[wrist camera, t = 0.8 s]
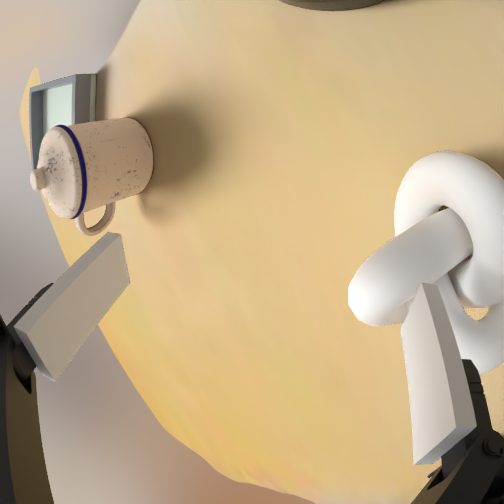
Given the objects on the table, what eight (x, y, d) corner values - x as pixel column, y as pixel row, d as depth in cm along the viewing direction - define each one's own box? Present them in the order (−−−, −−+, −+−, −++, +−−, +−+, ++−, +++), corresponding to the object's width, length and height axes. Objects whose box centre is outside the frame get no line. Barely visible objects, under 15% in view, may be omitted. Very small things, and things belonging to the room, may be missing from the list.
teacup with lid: (106, 114, 32) (15, 129, 22) (158, 116, 28) (49, 131, 19) (108, 210, 37) (28, 241, 28) (157, 230, 33) (65, 272, 24)
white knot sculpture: (554, 214, 14) (609, 266, 7) (470, 342, 20) (469, 429, 13) (424, 128, 17) (423, 127, 10) (355, 275, 24) (314, 343, 17)
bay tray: (45, 85, 37) (29, 87, 35) (96, 73, 30) (75, 74, 28) (48, 178, 44) (33, 183, 42) (97, 194, 37) (78, 201, 35)
